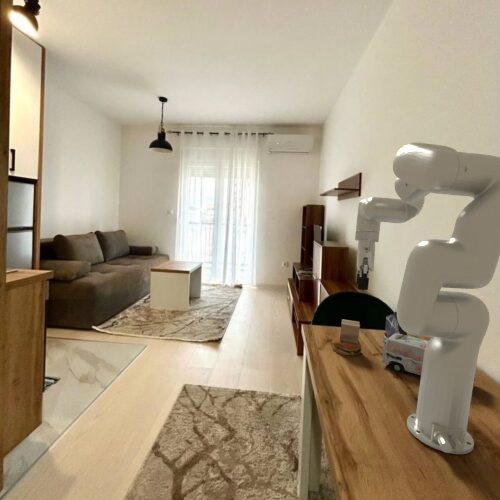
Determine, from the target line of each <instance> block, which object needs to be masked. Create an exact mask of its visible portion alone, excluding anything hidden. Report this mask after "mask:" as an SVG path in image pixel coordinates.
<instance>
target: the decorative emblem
mask: <svg viewBox="0 0 500 500" xmlns="http://www.w3.org/2000/svg"><path fill="white" fill-rule="evenodd" d="M384 327H385V332H384V333H383V340H382V341H383V344H384V347H385V345H386V342H387V340H388V338H389V337H391V336H392V335H393V334H395V333H397V334H402V335H407V336H408V333H406V332H405V331H404V330H403V329H402V328H401V327H400V325H399V323H398V320H397V311H394V313H391V314H389V315H386V316H385V326H384Z"/></svg>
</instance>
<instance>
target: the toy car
mask: <svg viewBox="0 0 500 500" xmlns="http://www.w3.org/2000/svg"><path fill="white" fill-rule="evenodd" d="M428 342H429V340H427V339H422V338H417V337H416V336H415V337H414V336H412V335H408V334H407V335H402V334H397V333H395V334H393V335H392V336H391V337H389V338H388V340H387V342H386V345H385V344H384V346H385V347H384V348H382V349H383V350H382V351H383V352H382V358H381V359H380V361H381V363H382V364H385V365H389V366H390V370H391V371H393V372H397V373H400V374H404V373H405V372H409V373H412V374H415V375H418V376H421V372H422V364H423V358H424V352H425V349H426V346H427V344H428ZM476 373H477V370H476V371H475V376H474V383H473V388H474V387H475V382H476Z"/></svg>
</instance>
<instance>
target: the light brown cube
mask: <svg viewBox="0 0 500 500" xmlns="http://www.w3.org/2000/svg"><path fill="white" fill-rule="evenodd" d="M340 324H341V327H340V333H339V337H340V341H345V342H351V343H356V344H358V341H359V336H360V327H361V324H360V321H356V320H351V319H350V320H349V319H341V323H340Z"/></svg>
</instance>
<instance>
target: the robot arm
mask: <svg viewBox="0 0 500 500" xmlns="http://www.w3.org/2000/svg"><path fill="white" fill-rule="evenodd" d="M392 170H393V171H392V172H393V174H394V175H395V177H396V179H395V181H394V191H395V193H396V194H397V196H398V198H391V197H377V196H371V197H369V198H367V199H361V200H360V201H359V202H358V206H357V207H358V208H357V216H356V217H357V218H356V225H355V226H356V227H355V235H354V236H355V237H354V240H355V241H356V242H357V252H356V269H357V273H356V282H355V283H356V285H357V289H358V290H363V291H368V290H369V284H370V283H369V281H370V272H371V273H372V272H374V268H375V267H374V266H375V257H376V256H375V254H376V243H379V239H380V230H381V223H389V224H390V223H391V224H402V223H406V222H409V221H410V220H412V219H413V218H415V217H416V216H418V215H419V214H420V212H421V211H422V209H423V207H424V204H425V199H426V198H425V197H426V196H429V194H436V195H437V194H438V195H440V194H441V195H448V196H449V195H450V196H460V197H461V196H463V197H470V198H473V200H472V201H470V202H469V203H468V204H466V206H465V207H464V208H463V209H462V210H461V212H460V213H459V214H458V216H457V217H456V220H455V223H454V229H453V231H452V234H451V235H450V236H451V237H450V239H437V238H436V239H433V238H432V239H426V240H423V241H421V242H418V243H417V244H416V245H415V246H414V247H413V249H412V250H411V252H410V253H409V256H408V257H407V260H406V261H407V262H406V265H405V269H404V274H403V278H402V283H401V287H400V291H399V294H398V295H399V296H398V300H397V304H396V305H397V306H396V312H397V320H398V323H399V325H400V327H401V328H402V329H403V330H404V331H405V332H406V333H407V335H408V334H409V336H413V337H414V336H415V337H427V338H430V339H429V340H428V341H429V342H428V344H427V346H426V349H425V352H424V358H423V364H422V372H421V375H420V381H419V388H418V396H417V402H416V403H417V404H416V410H415V412H414V413H412V414H411V413H410V415H408V417H407V418H406V427H407V429H408V430H409V432H410V434H412V436H414V438H417V440H419V441H420V442H421V443H423V444H425V445H427V446H429V447H430V448H433V449H435V450H438V451H440V452H443V453H446V454H453V455H465V454H469V453H471V452H472V451H473V450H474V446H475V440H474V439H473V437H472V435H471V434H470V433H469V432H468V431H467V429H468V423H469V422H468V421H469V417H470V416H469V415H470V409H471V408H470V407H471V402H472V396H473V389H474V387H473V383H474V384H475V381H474V376H475V377H476V374H475V371H476V372H477V363H478V359H479V358H478V357H479V353H480V349H481V346H482V343H483V341H484V338H485V336H486V333H487V332H488V328H489V326H490V325H489V324H490V313H489V309H488V307H487V305H486V303H485V302H484V301H483V300H482V299H480V298H479V297H477V296H476V295H473V294H470V293H467V292H461V291H448V290H441V289H442V288H445V289H446V288H447V289H461V290H462V289H463V290H464V289H465V290H466V289H467V290H473V289H474V290H476V289H481V288H484V287H486V286H488V285H489V284H490V283H491V281H492V279H493V277H494V274H495V272H496V269H497V266H498V263H499V260H500V156H496V155H490V154H482V153H473V152H464V151H457V150H456V149H454V148H453V147H450V146H447V145H441V144H431V143H424V142H409V143H407V144H405V145H403V146H402V147H401V148H400V149H399V150H398V151H397V152H396V154H395V156H394V158H393V162H392Z"/></svg>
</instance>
